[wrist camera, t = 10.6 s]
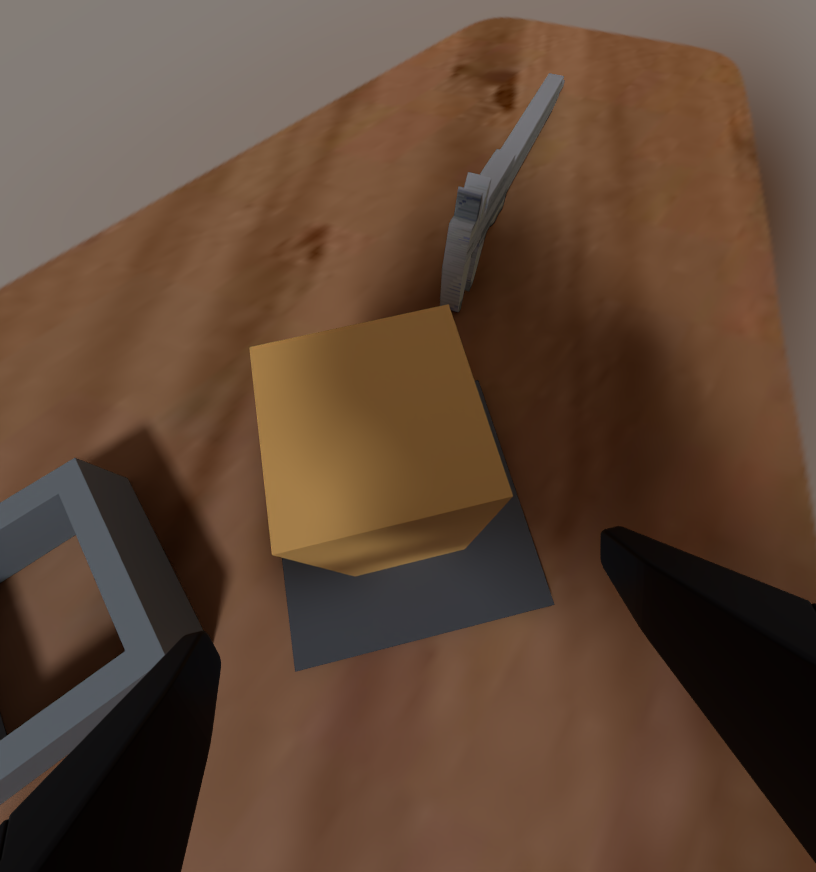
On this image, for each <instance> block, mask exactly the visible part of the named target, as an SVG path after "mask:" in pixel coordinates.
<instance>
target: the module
mask: <svg viewBox="0 0 816 872" xmlns="http://www.w3.org/2000/svg"><path fill="white" fill-rule="evenodd" d="M250 357H251V366H252V375H253V384H254V394H255V403H256V412H257V421H258V431H259V440H260V449H261V458H262V468H263V477H264V486H265V495H266V505H267V514H268V523H269V532H270V541H271V551H272V555H274V556H278V557H282V558H285V559H289V560H293V561H297V562H301V563H305V564H308V565H312V566H316V567H320V568H324V569H328V570H332V571H335V572H339V573H343V574H347V575H351V576H359V575H363V574H367V573H371V572H375V571H379V570H383V569H387V568H391V567H395V566H399V565H403V564H407V563H411V562H415V561H419V560H423V559H428V558H432V557H436V556H440V555H444V554H448V553H452V552H456V551H460V550H464V549H465V548H466V547H467V546H468V545H469V544H470V543H471V542H472V541H473V540H474V539H475V537H476V536H477V535H478V534H479V533H480V532H481V531H482V530H483V529H484V528H485V527H486V525H487V524H488V523H489V522H490V521H491V520H492V519H493V518H494V517H495V516H496V515H497V513H498V512H499V511H500V510H501V509H502V508H503V507H504V506H505V505H506V504H507V503H508V501H509V500H510V499H511V498H512V497H513V494H512V491H511V488H510V485H509V482H508V479H507V476H506V473H505V470H504V467H503V464H502V461H501V458H500V455H499V453H498V450H497V447H496V444H495V441H494V438H493V435H492V432H491V429H490V426H489V423H488V420H487V417H486V414H485V411H484V408H483V405H482V402H481V399H480V396H479V393H478V390H477V387H476V384H475V381H474V378H473V375H472V372H471V369H470V366H469V363H468V360H467V357H466V354H465V351H464V348H463V345H462V342H461V339H460V336H459V334H458V331H457V328H456V325H455V322H454V319H453V316H452V313H451V310H450V307H449V304H447V305H442V306H438V307H433V308H429V309H424V310H419V311H415V312H410V313H405V314H401V315H396V316H392V317H387V318H382V319H378V320H373V321H369V322H364V323H359V324H355V325H350V326H345V327H341V328H336V329H332V330H327V331H322V332H318V333H313V334H308V335H304V336H299V337H295V338H290V339H285V340H281V341H276V342H272V343H267V344H262V345H258V346H253V347H250Z"/></svg>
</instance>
